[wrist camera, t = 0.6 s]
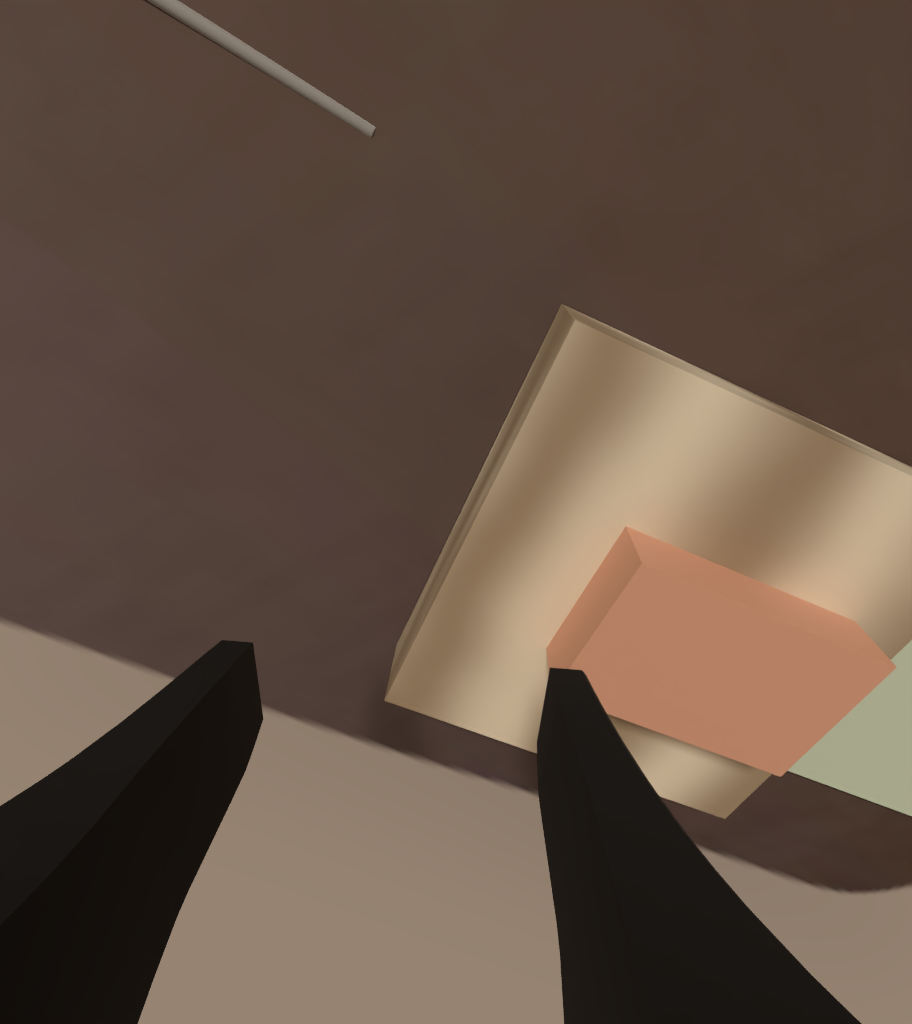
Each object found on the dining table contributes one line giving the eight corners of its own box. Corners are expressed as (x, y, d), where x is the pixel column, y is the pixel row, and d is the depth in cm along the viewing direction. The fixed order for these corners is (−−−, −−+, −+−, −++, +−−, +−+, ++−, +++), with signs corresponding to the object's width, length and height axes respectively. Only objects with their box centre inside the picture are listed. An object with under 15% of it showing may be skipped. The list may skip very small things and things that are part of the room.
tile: (546, 648, 19) (552, 693, 17) (625, 525, 16) (641, 563, 15) (754, 726, 20) (780, 776, 18) (855, 621, 17) (897, 667, 16)
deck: (396, 644, 23) (384, 700, 20) (561, 304, 17) (575, 319, 14) (699, 753, 25) (725, 818, 22) (949, 484, 18) (1027, 529, 16)
